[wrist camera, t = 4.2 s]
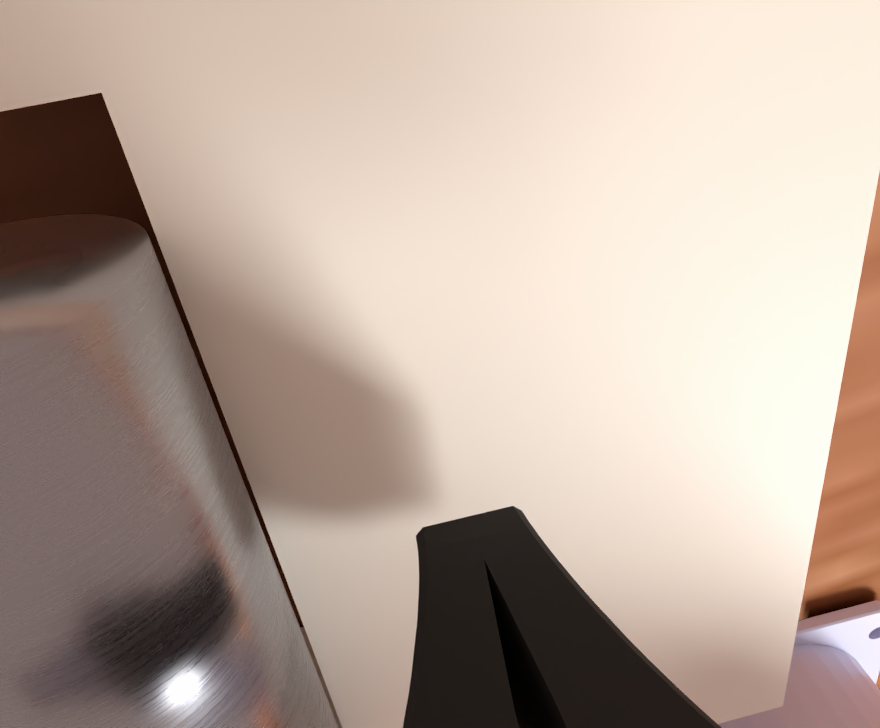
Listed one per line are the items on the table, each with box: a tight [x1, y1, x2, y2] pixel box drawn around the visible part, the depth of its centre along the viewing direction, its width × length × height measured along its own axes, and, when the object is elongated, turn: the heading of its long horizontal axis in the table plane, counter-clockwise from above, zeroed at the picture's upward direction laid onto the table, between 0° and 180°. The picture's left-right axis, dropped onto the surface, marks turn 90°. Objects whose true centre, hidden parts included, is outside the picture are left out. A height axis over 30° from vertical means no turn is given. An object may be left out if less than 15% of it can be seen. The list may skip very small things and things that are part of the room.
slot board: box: [0, 0, 880, 728], centre depth 12 cm, size 16×18×4 cm
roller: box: [0, 214, 339, 728], centre depth 10 cm, size 10×4×4 cm, turn 9°
